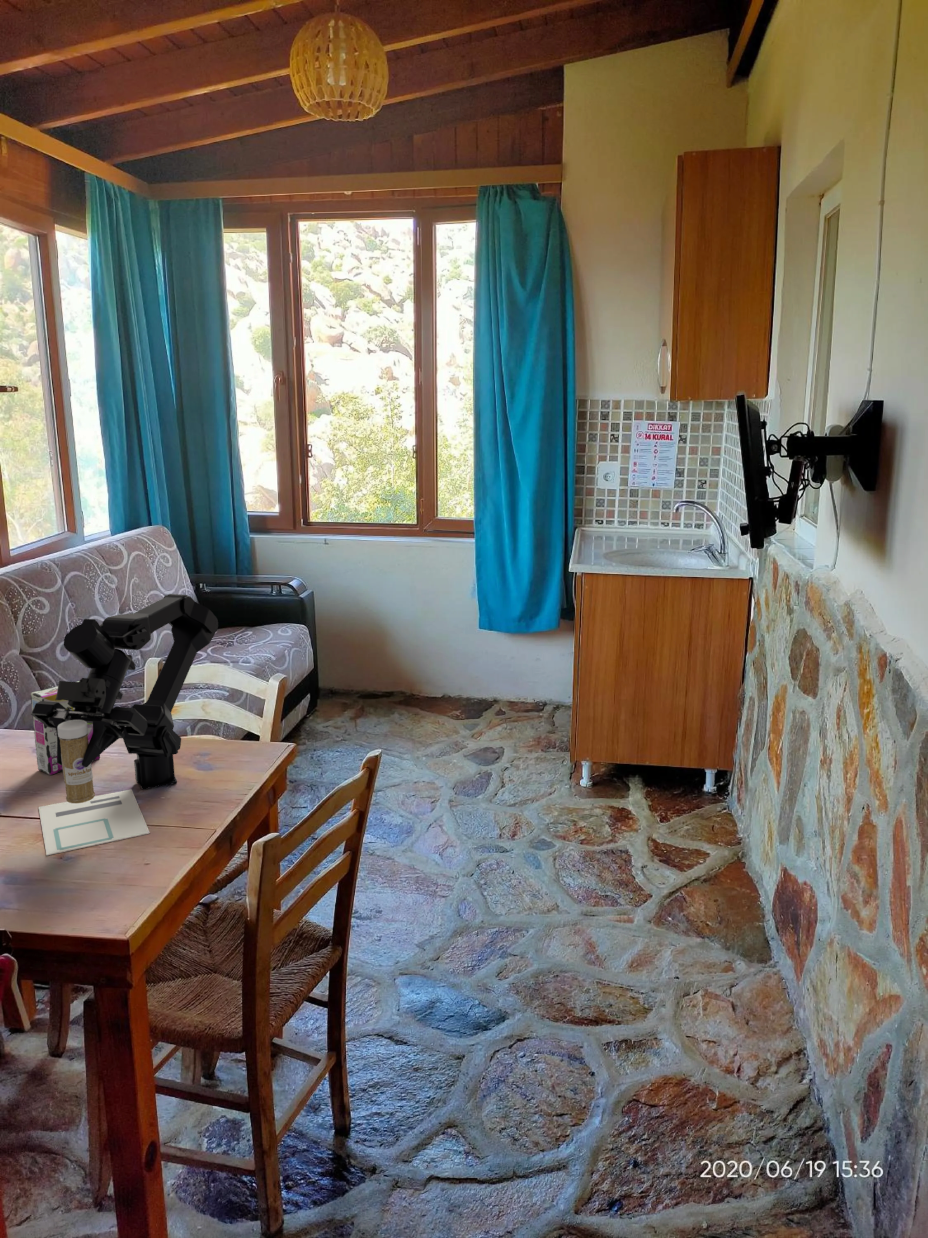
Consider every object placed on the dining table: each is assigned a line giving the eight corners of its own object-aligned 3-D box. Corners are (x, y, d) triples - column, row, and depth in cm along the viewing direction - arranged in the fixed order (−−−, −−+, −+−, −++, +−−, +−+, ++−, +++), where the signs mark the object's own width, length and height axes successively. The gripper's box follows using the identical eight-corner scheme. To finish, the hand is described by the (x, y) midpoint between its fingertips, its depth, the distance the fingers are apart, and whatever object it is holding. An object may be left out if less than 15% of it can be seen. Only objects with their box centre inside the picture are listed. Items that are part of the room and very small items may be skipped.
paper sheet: (131, 790, 165) (131, 789, 165) (149, 833, 148) (149, 832, 148) (38, 807, 158) (38, 806, 158) (46, 855, 141) (46, 854, 141)
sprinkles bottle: (76, 807, 143) (66, 730, 140) (60, 800, 146) (51, 724, 143) (101, 797, 147) (92, 722, 144) (85, 790, 149) (77, 716, 146)
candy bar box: (50, 776, 171) (41, 697, 168) (37, 770, 174) (28, 692, 170) (102, 759, 180) (95, 683, 176) (88, 753, 183) (81, 679, 179)
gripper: (31, 655, 146) (-7, 741, 138) (131, 662, 143) (98, 750, 135) (66, 685, 156) (32, 767, 148) (161, 692, 152) (131, 776, 144)
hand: (71, 765), depth 143 cm, fingers closed on sprinkles bottle, 4 cm apart
